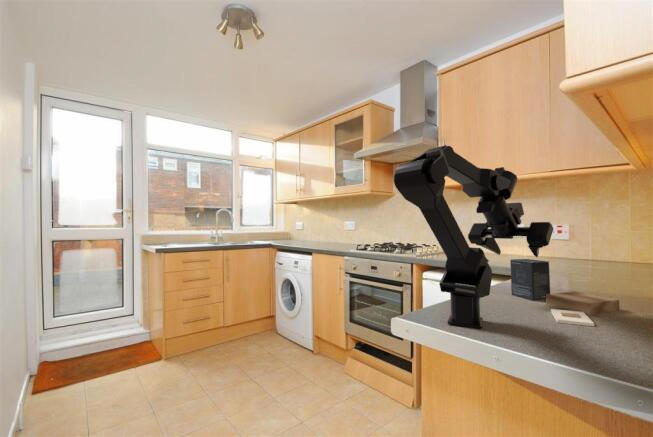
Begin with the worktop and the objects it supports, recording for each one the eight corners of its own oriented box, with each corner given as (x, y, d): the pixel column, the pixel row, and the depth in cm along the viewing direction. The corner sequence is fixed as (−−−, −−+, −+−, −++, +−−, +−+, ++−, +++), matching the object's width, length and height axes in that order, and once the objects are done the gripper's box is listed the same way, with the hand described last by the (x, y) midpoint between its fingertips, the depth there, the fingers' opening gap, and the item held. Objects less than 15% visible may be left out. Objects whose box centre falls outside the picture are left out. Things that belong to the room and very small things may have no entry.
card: (594, 326, 61) (594, 322, 61) (557, 322, 64) (557, 318, 64) (583, 314, 69) (583, 311, 69) (550, 311, 72) (550, 308, 72)
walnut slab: (589, 314, 69) (588, 303, 69) (546, 304, 78) (545, 294, 79) (619, 310, 72) (619, 299, 72) (574, 300, 81) (574, 291, 81)
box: (551, 300, 83) (549, 261, 83) (532, 301, 82) (531, 261, 82) (527, 293, 90) (526, 258, 91) (510, 294, 90) (509, 258, 90)
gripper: (549, 187, 72) (566, 232, 78) (471, 195, 87) (491, 232, 93) (537, 221, 67) (556, 266, 73) (457, 223, 82) (479, 260, 88)
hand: (517, 254), depth 82 cm, fingers open, 9 cm apart
